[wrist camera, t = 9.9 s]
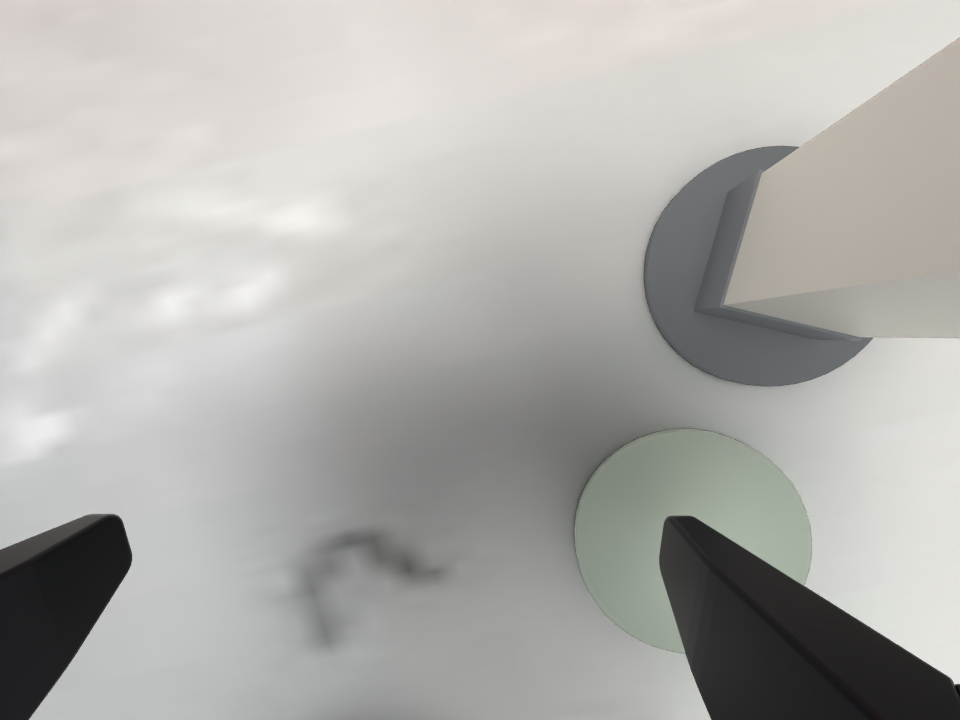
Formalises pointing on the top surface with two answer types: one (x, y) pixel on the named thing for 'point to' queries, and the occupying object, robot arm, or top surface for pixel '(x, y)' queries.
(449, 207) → the top surface
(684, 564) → the robot arm
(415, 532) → the top surface
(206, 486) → the top surface
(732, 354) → the pad dark
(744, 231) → the tall white pillar block
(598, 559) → the pad pale
